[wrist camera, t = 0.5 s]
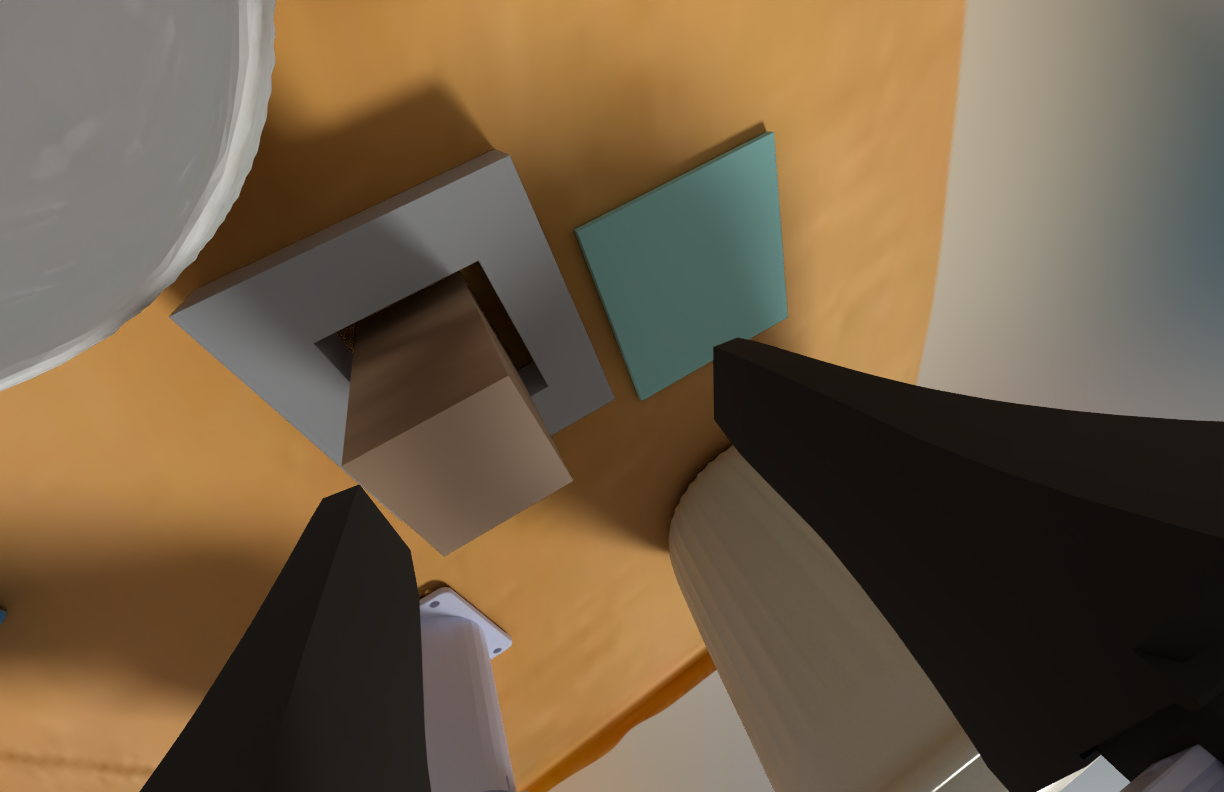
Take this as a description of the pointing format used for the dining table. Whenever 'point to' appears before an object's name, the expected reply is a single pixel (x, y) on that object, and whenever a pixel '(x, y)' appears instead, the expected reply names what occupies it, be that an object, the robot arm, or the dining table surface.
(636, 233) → the mat
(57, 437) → the dining table surface
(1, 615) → the ink box
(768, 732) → the canister
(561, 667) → the dining table surface
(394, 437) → the walnut block
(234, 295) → the pocket plate
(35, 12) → the cereal bowl
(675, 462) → the dining table surface
